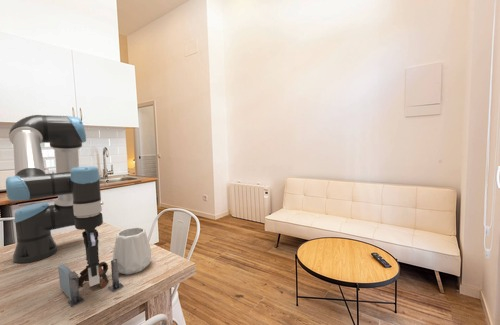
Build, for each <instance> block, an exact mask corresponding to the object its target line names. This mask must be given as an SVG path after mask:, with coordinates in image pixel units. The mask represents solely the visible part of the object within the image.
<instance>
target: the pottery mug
mask: <svg viewBox="0 0 500 325" xmlns="http://www.w3.org/2000/svg"><path fill="white" fill-rule="evenodd" d="M98 270H99V278H102V279H101V281H99V282H100V283H99V286H100V287H101V288H102V289H104V288H105V287H106V286H107V284H108V282H109V279H108V276H107V272H108V270H109V264H108V263H107V262H105V261H102V262H99V265H98ZM85 282H89V276H88V268H87V269H86V267H84V269H82V270H81V271H80V272H79V276H78V284H79V288H83V287H84V285H83V284H84V283H85Z"/></svg>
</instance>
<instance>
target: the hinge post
mask: <svg viewBox="0 0 500 325" xmlns="http://www.w3.org/2000/svg"><path fill="white" fill-rule="evenodd" d="M78 277H79V276H78ZM78 277H76V278H73V279H70V283H71V293H72V299H70V300H68V301H67V304H68V305H69V307H71V308H73V307H75V306H77V305H80V304H81V303H84V302H85V298H83V297H82V295H81V294H80V286H79V284H78Z"/></svg>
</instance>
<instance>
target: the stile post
mask: <svg viewBox="0 0 500 325" xmlns="http://www.w3.org/2000/svg"><path fill="white" fill-rule="evenodd" d="M110 266H111V270H110V271H111V282H112V285H110V286H108V290H110V291H111V292H113V293H114V292H116V291H118V290H120V289H122V288H124V286H125V285H123V284H122V283H121V282H120V279H119V278H120V277H119V275H120V274H119V273H118V261H117V259H113V258H112V259H111V260H110Z"/></svg>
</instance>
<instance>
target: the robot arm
mask: <svg viewBox="0 0 500 325" xmlns="http://www.w3.org/2000/svg"><path fill="white" fill-rule="evenodd" d="M8 138H9V141H10V143H11V144H12V145H13V160H14V161H13V162H14V163H13V164H14V165H13V166H14V176H9V177H6V178H5V189H6V196H7V199H8V200H9V201H12V202H17V201H29V200H36V199H41V198H42V199H43V198H49V197H57V198H56V199H55V200H54V202H53V204H51V205H50V204H49V203H48V202H41V203H40V202H39V203H33V204H31V205H27V206H23V207H21V208H19V209H17V210H16V211H14V220H13V222H14V224H15V234H16V246H15V249H14V253H13V256H12V258H13V262H14V263H15V264H27V263H28V264H29V263H33V262H37V261H41V260H43V259H46V258H49V257H51V256H53V255H55V253H57V252H58V245H57V243H56V241H55V240H54V238H53V237H52V232H51V231H53V230H57V229H58V230H59V229H63V228H67V227H73V226H74V227H75V229H76V230H81V231H82V233H81V235H82V238H83V245H84V249H85V250H84V251H85V256H86V257H85V258H86V259H85V261H86V264H87V265H86V266H85V268H86V269H87V268H88V276H89V281H88V285H89V287H93V286H95V285H96V286H97V285H98V284H99V285H100V282H101V281H100V276H99V270H98V265H99V263H100V258H99V242H100V241H99V238H98V237H99V231H98V229H96V228H97V227H100V226H101V225H103V224H104V216H103V213H102V211H103V207H102V206H103V205H104V202H103V201H102V196H101V195H102V194H101V182H100V179H101V176H100V172H99V168H98V167H97V166H91V165H90V166H89V165H87V166H80V162H79V160H80V159H79V149H81V148H82V147H83V143H86V142H87V134H86V130H85V125H84V123H83V121H82V119H81V118H80V117H78V116H71V115H70V116H69V115H49V114H48V115H44V114H43V115H42V114H32V115H28V116H25V117H23V118H21V119H19V120H17V121H16V122H15V123H14V124H13V125H12V126H11V128H10V129H9V132H8ZM42 143H45V144H47V143H48V144H49V147H50V148H51V149H53V150H54V159H55V171H56V172H52V173H46V169H45V163H44V157H43V151H42ZM83 230H84V231H83Z"/></svg>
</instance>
